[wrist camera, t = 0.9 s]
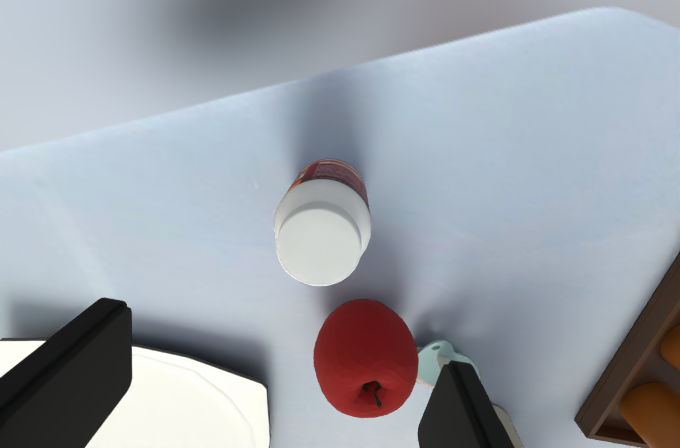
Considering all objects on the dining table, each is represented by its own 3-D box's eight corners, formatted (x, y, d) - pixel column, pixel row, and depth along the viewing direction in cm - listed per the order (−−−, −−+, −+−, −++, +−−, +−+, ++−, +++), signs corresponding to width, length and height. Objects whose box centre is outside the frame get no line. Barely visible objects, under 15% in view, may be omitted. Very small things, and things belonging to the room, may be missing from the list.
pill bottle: (298, 151, 27) (266, 182, 16) (372, 164, 27) (387, 203, 17) (289, 222, 29) (256, 288, 19) (358, 233, 29) (363, 305, 19)
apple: (307, 291, 31) (290, 371, 22) (402, 276, 31) (426, 353, 21) (327, 366, 34) (319, 464, 25) (413, 354, 34) (438, 452, 24)
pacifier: (438, 393, 36) (481, 361, 34) (454, 451, 30) (507, 417, 28) (388, 357, 34) (431, 322, 32) (395, 411, 28) (447, 372, 26)
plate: (40, 491, 43) (21, 516, 40) (4, 309, 33) (-24, 326, 30) (258, 523, 44) (252, 548, 41) (286, 356, 34) (281, 376, 32)
